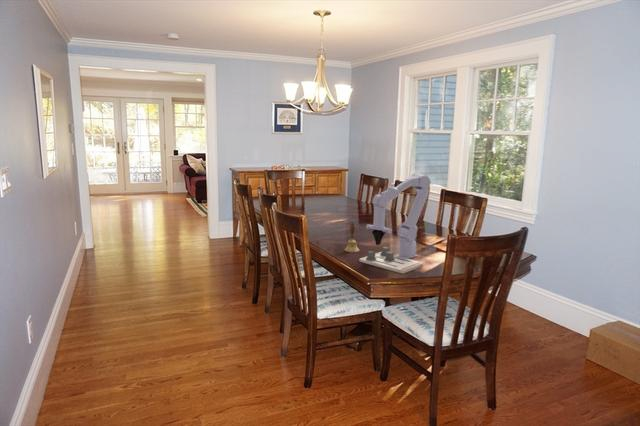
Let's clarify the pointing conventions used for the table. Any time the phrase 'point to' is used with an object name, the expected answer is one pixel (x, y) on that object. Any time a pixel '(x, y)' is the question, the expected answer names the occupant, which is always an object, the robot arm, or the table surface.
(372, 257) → the knob
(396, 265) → the switch board
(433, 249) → the table surface
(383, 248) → the knob
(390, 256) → the knob
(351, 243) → the hand bell
